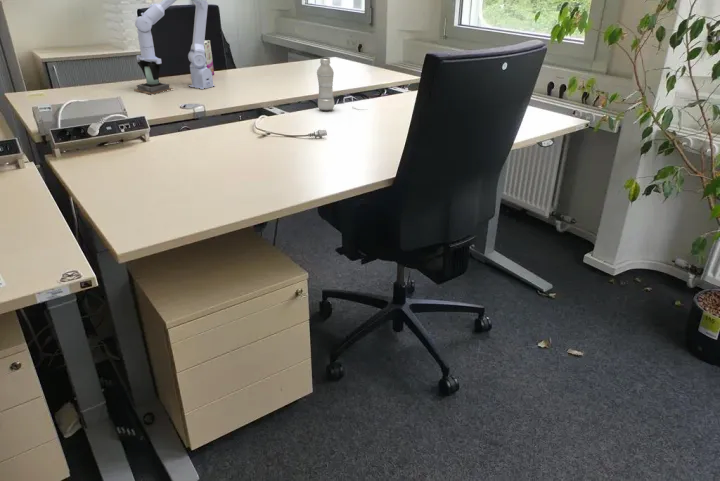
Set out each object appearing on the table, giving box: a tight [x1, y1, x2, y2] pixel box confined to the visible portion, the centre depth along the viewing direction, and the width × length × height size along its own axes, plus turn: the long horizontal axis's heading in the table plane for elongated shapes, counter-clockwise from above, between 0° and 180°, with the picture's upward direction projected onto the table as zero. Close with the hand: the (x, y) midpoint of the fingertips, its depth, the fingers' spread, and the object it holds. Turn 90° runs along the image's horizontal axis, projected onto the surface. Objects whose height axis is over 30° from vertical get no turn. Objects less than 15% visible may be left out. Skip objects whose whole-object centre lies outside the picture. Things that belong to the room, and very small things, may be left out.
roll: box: [144, 66, 160, 84], centre depth 240 cm, size 5×5×7 cm
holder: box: [133, 81, 174, 95], centre depth 242 cm, size 12×12×3 cm
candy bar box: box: [204, 39, 215, 77], centre depth 265 cm, size 11×5×16 cm, turn 179°
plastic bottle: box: [316, 57, 335, 112], centre depth 213 cm, size 6×7×20 cm
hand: (152, 78), depth 240 cm, fingers closed on roll, 5 cm apart
